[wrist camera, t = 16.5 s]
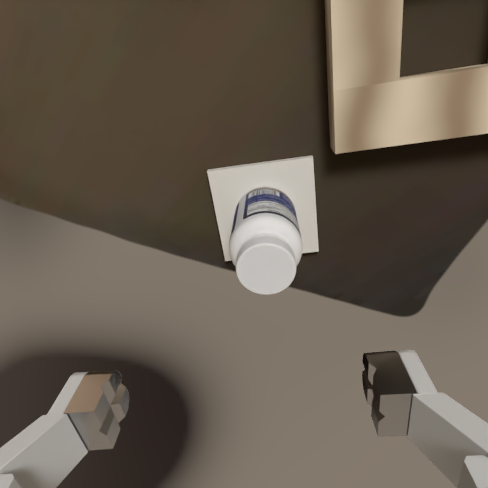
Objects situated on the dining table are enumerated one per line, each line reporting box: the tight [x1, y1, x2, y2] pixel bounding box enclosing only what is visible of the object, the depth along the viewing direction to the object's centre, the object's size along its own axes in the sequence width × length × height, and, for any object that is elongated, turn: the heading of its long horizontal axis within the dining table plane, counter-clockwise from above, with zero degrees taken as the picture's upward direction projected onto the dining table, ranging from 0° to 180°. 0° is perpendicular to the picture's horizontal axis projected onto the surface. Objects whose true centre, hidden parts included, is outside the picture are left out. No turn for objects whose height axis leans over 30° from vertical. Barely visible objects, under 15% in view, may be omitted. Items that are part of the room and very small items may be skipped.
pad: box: [207, 156, 319, 261], centre depth 32 cm, size 9×9×1 cm
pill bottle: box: [229, 186, 303, 295], centre depth 27 cm, size 5×5×10 cm
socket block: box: [325, 0, 488, 154], centre depth 23 cm, size 16×16×2 cm
